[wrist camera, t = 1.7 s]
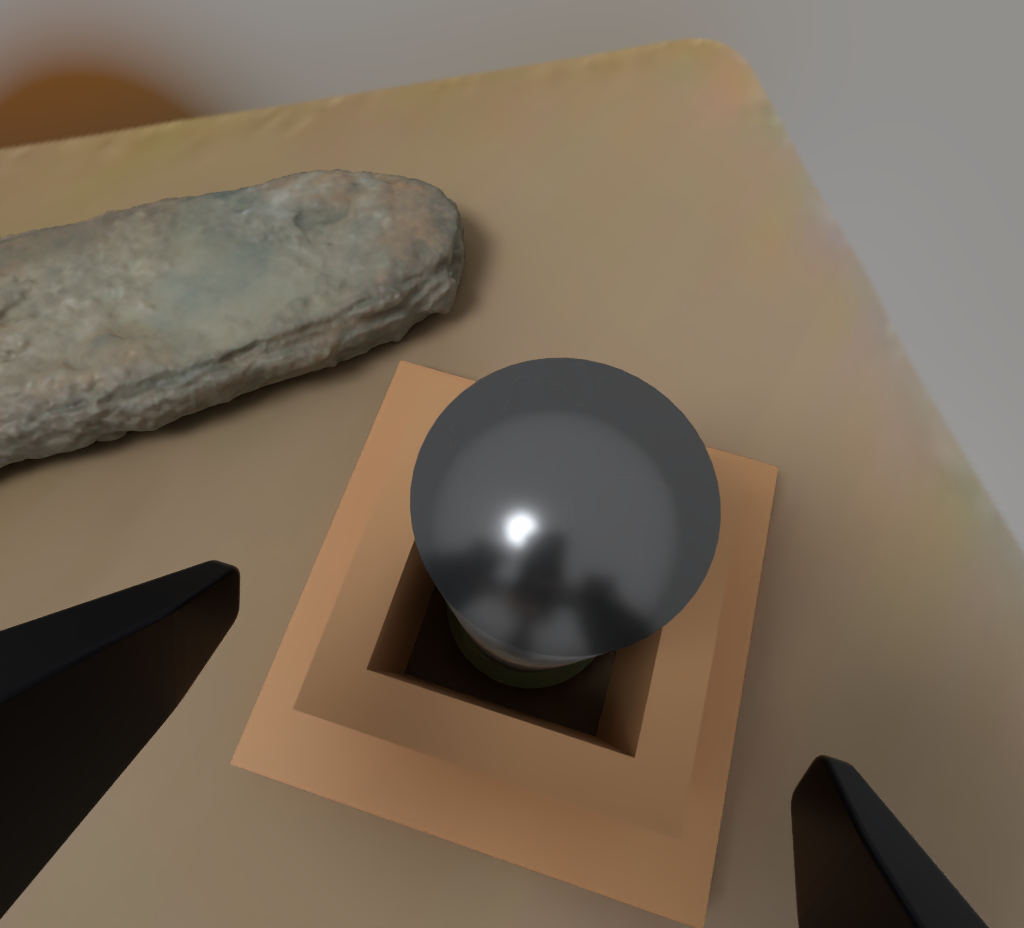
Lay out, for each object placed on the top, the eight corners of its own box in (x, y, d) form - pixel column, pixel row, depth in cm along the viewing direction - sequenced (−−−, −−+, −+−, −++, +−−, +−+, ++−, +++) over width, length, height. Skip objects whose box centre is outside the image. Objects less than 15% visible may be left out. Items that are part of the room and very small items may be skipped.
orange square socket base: (689, 913, 16) (776, 1019, 11) (247, 758, 17) (140, 790, 12) (763, 478, 21) (850, 410, 16) (405, 376, 22) (376, 280, 17)
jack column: (582, 710, 18) (715, 749, 7) (428, 659, 18) (317, 620, 7) (620, 555, 19) (777, 385, 8) (478, 512, 20) (450, 297, 9)
